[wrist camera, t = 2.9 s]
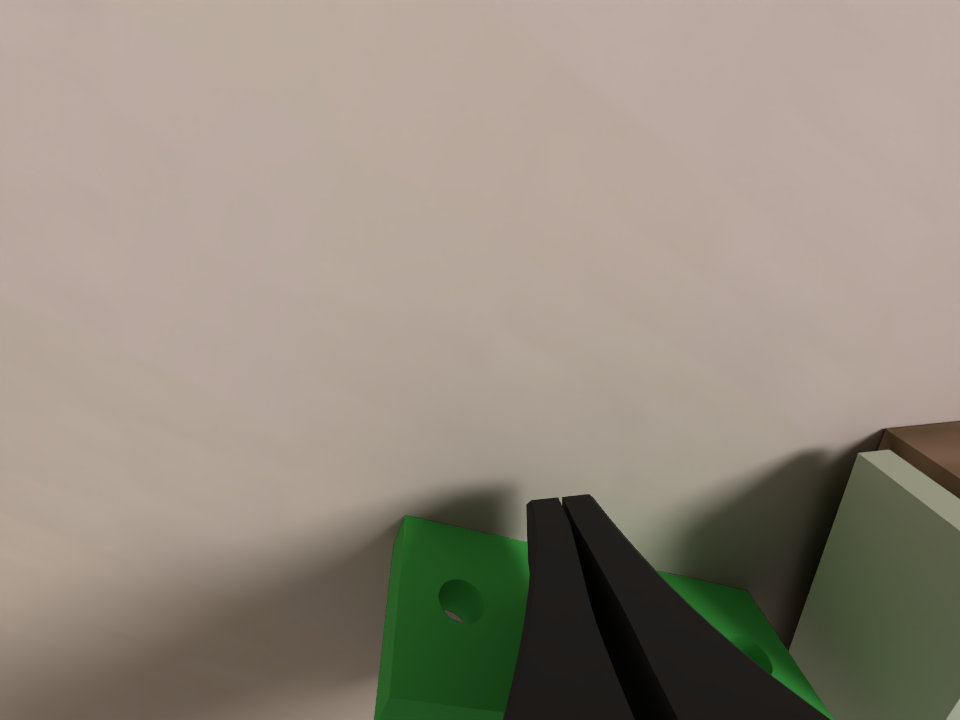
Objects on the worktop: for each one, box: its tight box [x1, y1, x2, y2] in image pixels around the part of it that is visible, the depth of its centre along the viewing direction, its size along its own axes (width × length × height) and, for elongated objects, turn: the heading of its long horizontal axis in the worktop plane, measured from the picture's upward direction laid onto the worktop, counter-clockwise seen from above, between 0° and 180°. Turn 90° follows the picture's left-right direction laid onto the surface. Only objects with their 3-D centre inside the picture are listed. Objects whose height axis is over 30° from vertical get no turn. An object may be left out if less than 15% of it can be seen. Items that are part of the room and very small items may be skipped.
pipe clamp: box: [374, 515, 834, 720], centre depth 12 cm, size 11×4×5 cm, turn 69°
